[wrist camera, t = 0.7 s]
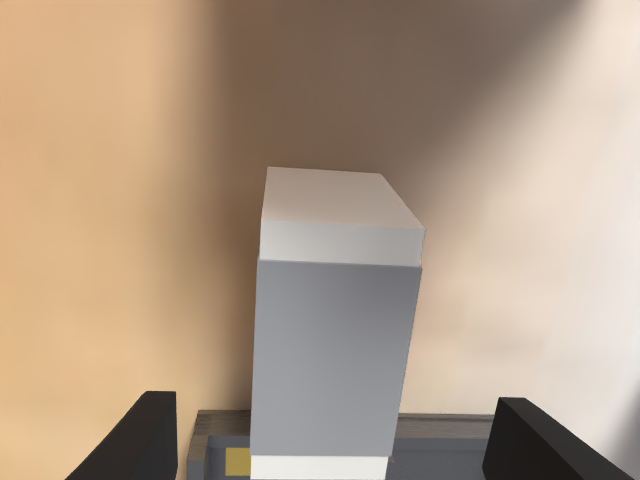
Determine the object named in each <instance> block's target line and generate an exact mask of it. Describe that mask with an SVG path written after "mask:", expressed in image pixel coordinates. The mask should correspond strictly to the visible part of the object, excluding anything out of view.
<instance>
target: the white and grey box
mask: <svg viewBox="0 0 640 480" xmlns="http://www.w3.org/2000/svg"><path fill="white" fill-rule="evenodd" d="M424 236H425V228H424V227H423V225H422V224H421V223H420V222H419V220H418V219H417V218H416V217H415V215H414V214H413V213H412V212H411V210H410V209H409V208H408V207H407V206H406V204H405V203H404V202H403V201H402V199H401V198H400V197H399V196H398V194H397V193H396V192H395V191H394V189H393V188H392V187H391V186H390V184H389V183H388V182H387V181H386V179H385V178H384V177H383V176H382V175H381V173H365V172H349V171H333V170H318V169H302V168H286V167H270V166H268V168H267V176H266V184H265V192H264V201H263V209H262V217H261V234H260V249H259V250H258V258H257V279H256V305H255V330H254V356H253V381H252V407H251V432H250V455H251V479H277V480H385V475H386V469H387V462H388V456H391V455H392V449H393V443H394V437H395V431H396V425H397V419H398V413H399V407H400V401H401V395H402V389H403V383H404V377H405V370H406V364H407V358H408V352H409V346H410V340H411V334H412V328H413V322H414V316H415V310H416V304H417V298H418V292H419V286H420V280H421V274H422V267H421V265H420V260H421V254H422V248H423V242H424Z"/></svg>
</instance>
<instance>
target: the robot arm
mask: <svg viewBox="0 0 640 480" xmlns="http://www.w3.org/2000/svg"><path fill="white" fill-rule="evenodd" d="M177 467H178V458H177V417H176V392H175V391H146V392H145V393H144V394H143V395H141V397H140V398H139V399H138V400H137V401H136V403H135V404H134V405H133V406H132V407H131V408H130V410H129V411H128V412H127V413H126V414H125V416H124V417H123V418H122V419H121V420H120V421H119V423H118V424H117V425H116V426H115V427H114V428H113V429H112V430H111V432H110V433H109V434H108V435H107V436H106V437H105V438H104V439H103V440H102V442H101V443H100V444H99V445H98V446H97V447H96V448H95V449H94V450H93V451H92V452H91V453H90V454H89V455H88V456H87V458H86V459H85V460H84V461H83V462H82V463H81V464H80V465H79V466H78V467H77V468H76V469H75V470H74V471H73V472H72V473H71V474H70V475H69V476H68V477H67V478H66V479H65V480H175V478H176V473H177ZM482 470H483V473H484V477H485V480H634V479H633V478H632V477H630V476H629V475H627V474H626V473H625V472H623V471H622V470H620V469H619V468H618V467H616V466H615V465H614V464H612V463H611V462H610V461H608V460H607V459H606V458H604V457H603V456H602V455H600V454H599V453H598V452H596V451H595V450H594V449H592V448H591V447H590V446H588V445H587V444H586V443H584V442H583V441H582V440H581V439H579V438H578V437H577V436H575V435H574V434H573V433H571V432H570V431H569V430H568V429H566V428H565V427H564V426H562V425H561V424H560V423H559V422H557V421H556V420H555V419H553V418H552V417H551V416H549V415H548V414H547V413H545V412H544V411H543V410H541V409H540V408H539V407H537V406H536V405H534V404H533V403H532V402H530V401H529V400H527V399H526V398H511V397H499V399H498V403H497V407H496V411H495V415H494V419H493V423H492V427H491V431H490V435H489V439H488V443H487V447H486V452H485V456H484V460H483V464H482Z"/></svg>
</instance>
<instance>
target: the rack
mask: <svg viewBox="0 0 640 480" xmlns="http://www.w3.org/2000/svg"><path fill="white" fill-rule="evenodd" d="M493 419H494V415H466V414H406V413H398V419H397V425H396V431H395V437H394V443H393V449H392V455H391V456H388V462H387V469H386V475H385V480H485V477H484V473H483V470H482V464H483V460H484V456H485V452H486V447H487V443H488V439H489V435H490V431H491V427H492V423H493ZM250 432H251V411H226V410H199V411H198V415H197V419H196V424H195V428H194V432H193V437H192V441H191V445H190V450H189V454H188V458H187V480H277V479H251V455H250Z"/></svg>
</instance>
